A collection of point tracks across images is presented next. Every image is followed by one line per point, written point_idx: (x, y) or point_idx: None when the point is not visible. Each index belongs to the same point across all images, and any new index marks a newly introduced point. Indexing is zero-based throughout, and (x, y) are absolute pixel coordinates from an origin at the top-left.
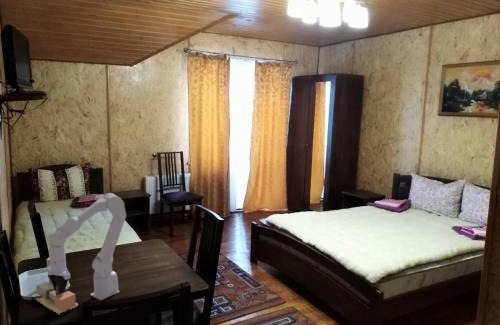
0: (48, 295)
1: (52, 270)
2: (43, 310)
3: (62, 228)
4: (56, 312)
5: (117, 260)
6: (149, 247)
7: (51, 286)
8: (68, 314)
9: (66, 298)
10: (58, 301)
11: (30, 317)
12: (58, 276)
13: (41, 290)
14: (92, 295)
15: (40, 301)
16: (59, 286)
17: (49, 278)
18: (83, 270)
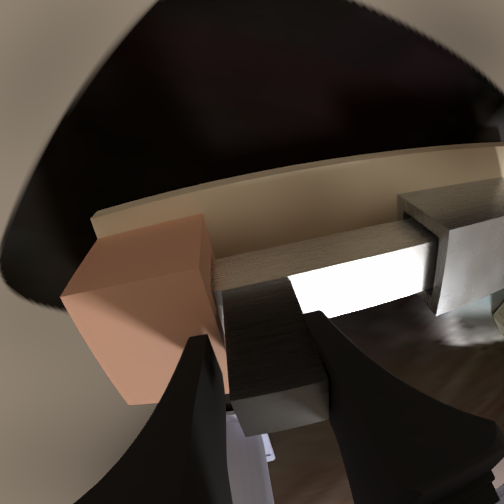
0: (410, 226)
1: None
2: (260, 125)
3: None
4: (128, 203)
5: None
6: None
7: (466, 289)
8: (68, 265)
9: (91, 343)
10: (108, 271)
11: (205, 13)
12: (361, 497)
13: (491, 205)
14: (230, 414)
15: (410, 153)
16: (150, 422)
17: (452, 410)
18: (492, 385)
